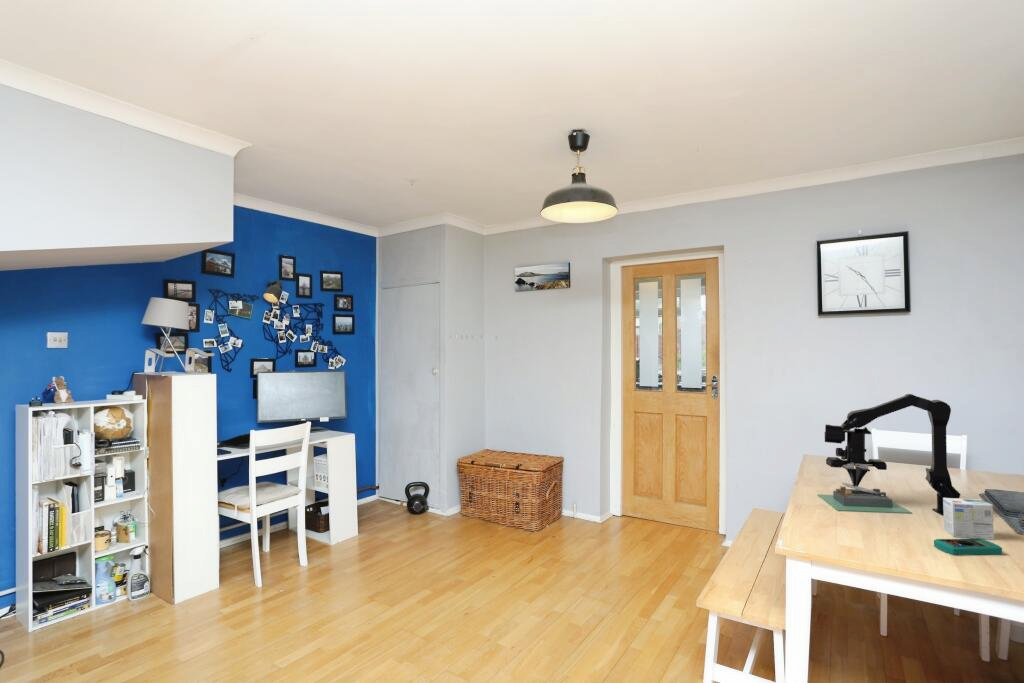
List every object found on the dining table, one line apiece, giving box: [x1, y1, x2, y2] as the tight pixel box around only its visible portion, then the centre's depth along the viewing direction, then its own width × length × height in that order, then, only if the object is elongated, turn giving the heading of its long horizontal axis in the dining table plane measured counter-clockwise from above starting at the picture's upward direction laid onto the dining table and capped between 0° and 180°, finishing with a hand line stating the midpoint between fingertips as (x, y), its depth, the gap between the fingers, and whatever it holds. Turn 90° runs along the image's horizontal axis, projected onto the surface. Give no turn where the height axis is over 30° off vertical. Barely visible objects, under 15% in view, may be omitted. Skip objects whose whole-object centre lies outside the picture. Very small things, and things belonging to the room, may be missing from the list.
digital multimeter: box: [933, 538, 1003, 556], centre depth 155 cm, size 7×15×3 cm, turn 89°
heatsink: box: [832, 485, 893, 508], centre depth 200 cm, size 10×16×5 cm, turn 79°
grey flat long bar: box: [841, 481, 879, 495], centre depth 200 cm, size 3×12×1 cm, turn 78°
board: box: [817, 493, 913, 515], centre depth 200 cm, size 20×24×1 cm
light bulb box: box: [943, 497, 995, 540], centre depth 167 cm, size 11×7×11 cm, turn 74°
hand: (855, 486), depth 200 cm, fingers closed
